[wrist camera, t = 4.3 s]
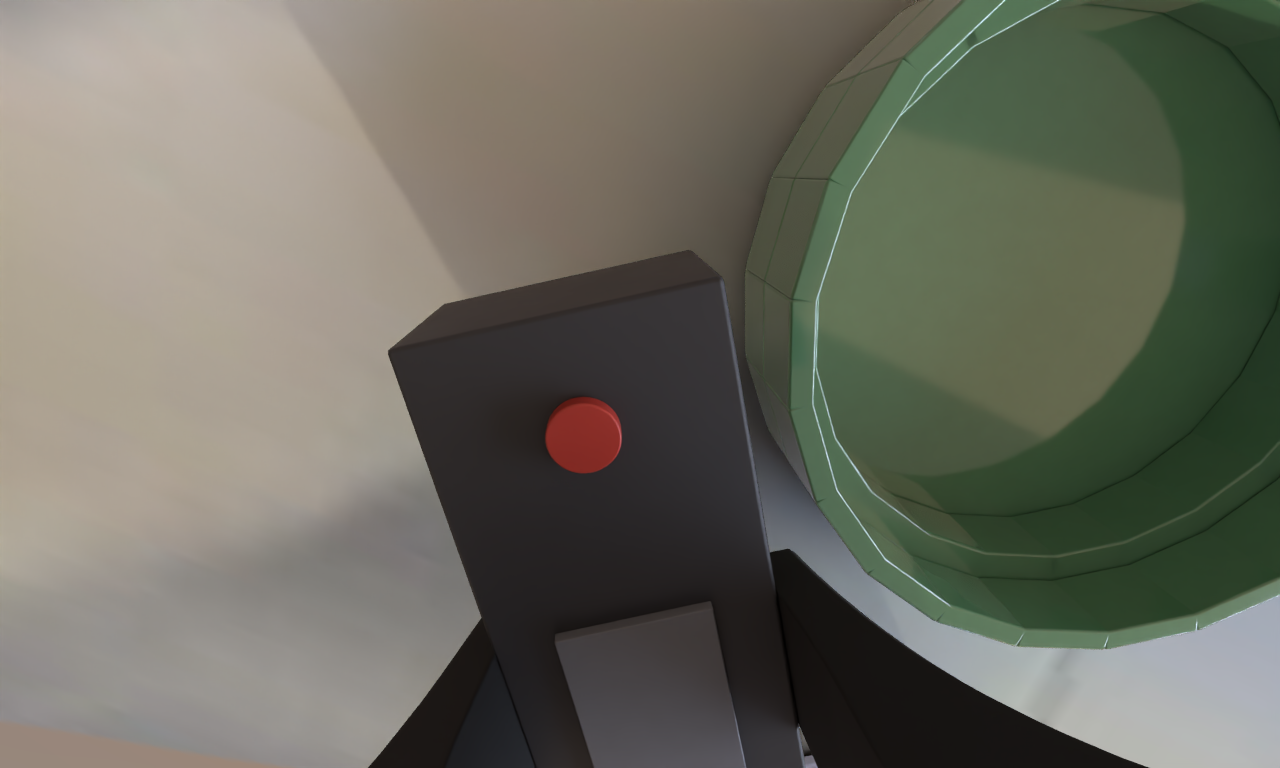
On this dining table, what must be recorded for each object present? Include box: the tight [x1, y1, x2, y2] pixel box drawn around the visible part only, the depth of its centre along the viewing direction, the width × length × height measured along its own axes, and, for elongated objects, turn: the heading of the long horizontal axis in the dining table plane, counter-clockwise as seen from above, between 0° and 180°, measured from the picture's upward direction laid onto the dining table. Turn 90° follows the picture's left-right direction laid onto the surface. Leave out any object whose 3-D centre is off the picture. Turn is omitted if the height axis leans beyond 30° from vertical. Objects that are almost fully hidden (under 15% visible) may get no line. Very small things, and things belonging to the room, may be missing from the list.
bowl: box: [745, 0, 1280, 650], centre depth 16 cm, size 17×17×5 cm
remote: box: [388, 250, 806, 768], centre depth 11 cm, size 12×4×3 cm, turn 12°
